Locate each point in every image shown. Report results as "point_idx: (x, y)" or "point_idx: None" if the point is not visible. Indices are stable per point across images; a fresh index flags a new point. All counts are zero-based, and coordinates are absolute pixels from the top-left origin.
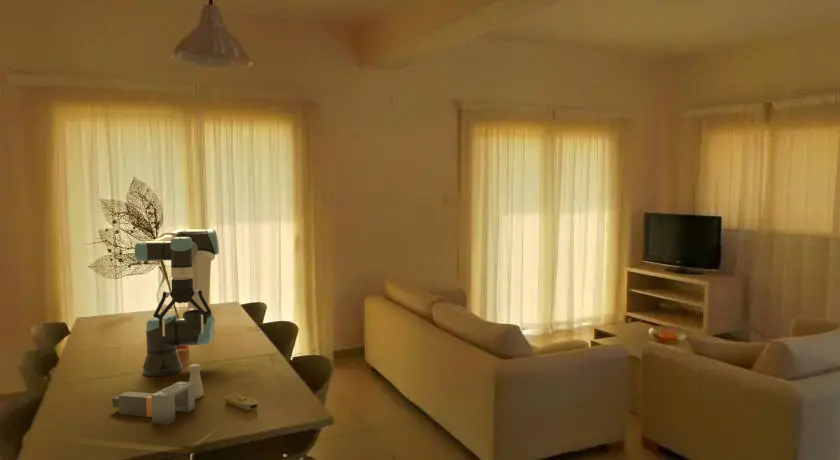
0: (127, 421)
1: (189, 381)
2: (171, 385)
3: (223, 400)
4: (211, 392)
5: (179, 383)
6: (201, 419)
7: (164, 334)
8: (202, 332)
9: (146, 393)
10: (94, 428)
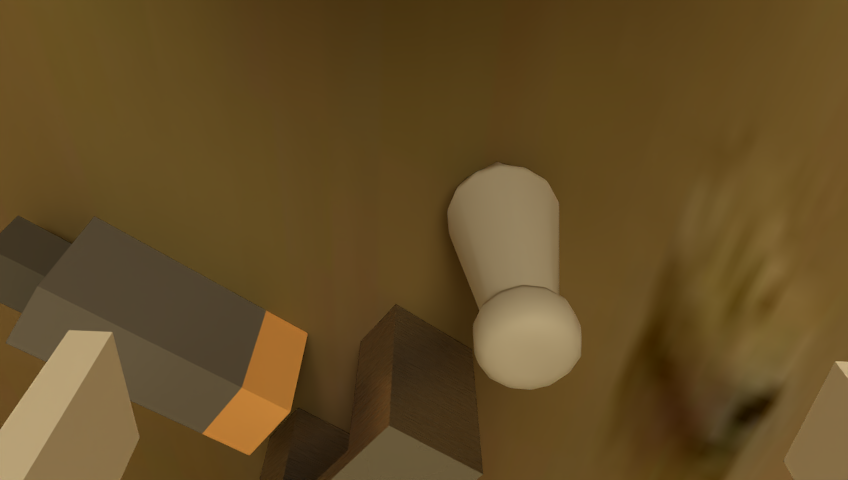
0: None
1: (470, 285)
2: (339, 476)
3: (649, 280)
4: (631, 92)
5: (390, 459)
6: (482, 466)
7: (122, 464)
8: (808, 471)
9: (188, 370)
10: (15, 405)
